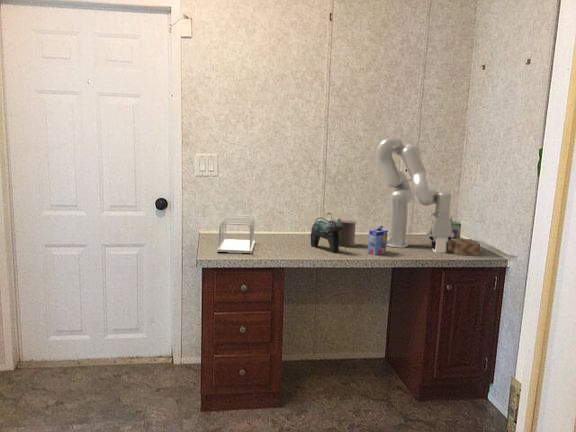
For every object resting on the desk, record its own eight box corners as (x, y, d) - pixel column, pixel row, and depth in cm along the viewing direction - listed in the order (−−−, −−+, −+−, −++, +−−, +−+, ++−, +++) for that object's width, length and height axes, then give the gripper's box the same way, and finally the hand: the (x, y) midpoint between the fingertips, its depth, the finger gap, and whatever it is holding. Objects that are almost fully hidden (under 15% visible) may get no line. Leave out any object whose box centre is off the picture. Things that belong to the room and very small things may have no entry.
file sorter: (251, 254, 252) (252, 224, 250) (217, 253, 252) (217, 222, 250) (255, 243, 277) (255, 215, 274) (223, 242, 277) (223, 214, 274)
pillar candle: (337, 247, 274) (339, 219, 271) (335, 242, 283) (337, 216, 281) (355, 247, 274) (357, 220, 271) (352, 243, 284) (354, 217, 281)
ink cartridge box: (375, 255, 258) (377, 227, 256) (367, 253, 262) (368, 225, 259) (386, 252, 265) (388, 225, 263) (377, 250, 269) (379, 223, 266)
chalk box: (459, 243, 292) (462, 218, 289) (443, 242, 294) (445, 217, 291) (457, 240, 301) (460, 215, 298) (441, 239, 303) (443, 214, 300)
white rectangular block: (435, 252, 268) (436, 236, 267) (432, 250, 274) (433, 234, 272) (445, 252, 268) (447, 236, 267) (442, 250, 274) (443, 234, 272)
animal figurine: (342, 252, 262) (344, 214, 258) (333, 254, 258) (335, 215, 254) (315, 245, 277) (317, 209, 273) (307, 246, 272) (308, 210, 269)
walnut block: (456, 254, 264) (457, 243, 263) (448, 249, 276) (449, 238, 275) (478, 255, 265) (480, 244, 264) (469, 249, 277) (470, 239, 276)
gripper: (428, 216, 263) (425, 249, 267) (460, 217, 264) (457, 250, 267) (423, 213, 271) (421, 246, 274) (455, 214, 272) (452, 247, 275)
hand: (439, 248), depth 271 cm, fingers closed on white rectangular block, 5 cm apart
